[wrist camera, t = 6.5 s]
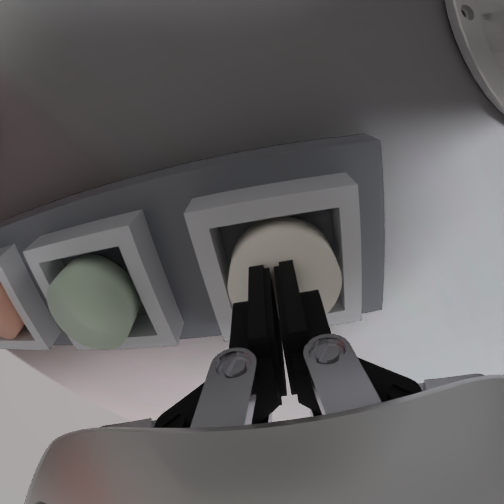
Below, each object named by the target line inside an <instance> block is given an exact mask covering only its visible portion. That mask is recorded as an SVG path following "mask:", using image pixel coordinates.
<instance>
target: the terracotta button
mask: <svg viewBox="0 0 504 504" xmlns="http://www.w3.org/2000/svg"><path fill="white" fill-rule="evenodd" d="M24 325H25V324H24V322H23V321H22V319H21V317H20V316H19V314H18V312H17V311H16V309H15V307H14V305H13V304H12V302H11V300H10V298H9V297H8V295H7V293H6V291H5V289H4V287H3V285H2V284H1V282H0V337H2V338H5V339H13V338H15V337H16V336H17V334H18V333H19V332H20V330H21V329H22V328H23V326H24Z"/></svg>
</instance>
